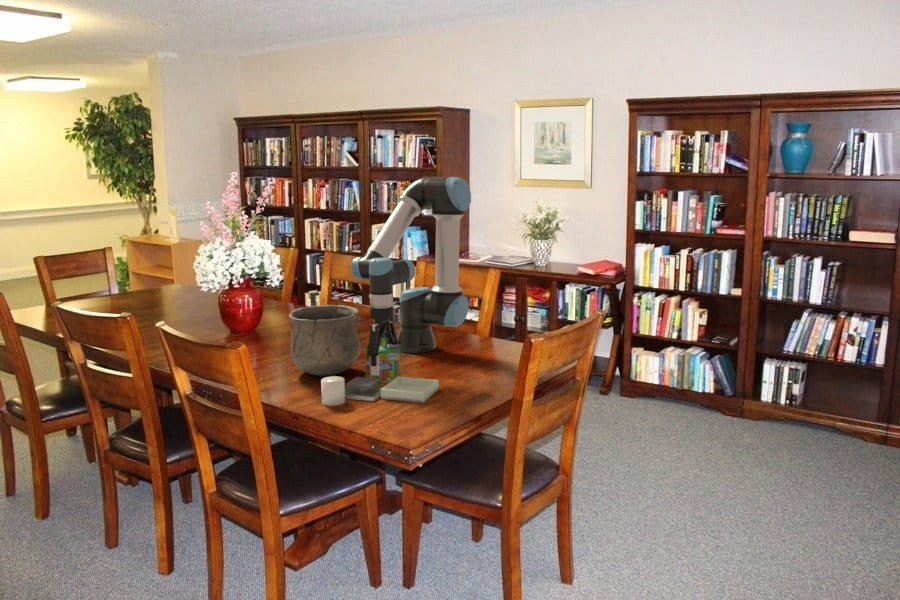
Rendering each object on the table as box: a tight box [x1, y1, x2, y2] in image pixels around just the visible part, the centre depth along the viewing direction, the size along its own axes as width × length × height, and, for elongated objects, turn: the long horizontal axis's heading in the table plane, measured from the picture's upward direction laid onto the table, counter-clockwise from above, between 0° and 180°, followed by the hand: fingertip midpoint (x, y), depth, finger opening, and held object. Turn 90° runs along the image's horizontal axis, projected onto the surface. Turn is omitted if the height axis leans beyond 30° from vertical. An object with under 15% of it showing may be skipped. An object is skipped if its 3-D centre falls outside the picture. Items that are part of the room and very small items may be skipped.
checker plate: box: [345, 376, 380, 390], centre depth 241 cm, size 8×8×1 cm
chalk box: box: [364, 336, 402, 385], centre depth 253 cm, size 9×9×15 cm
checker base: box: [345, 384, 387, 402], centre depth 242 cm, size 13×13×2 cm
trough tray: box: [380, 376, 440, 404], centre depth 241 cm, size 14×14×3 cm
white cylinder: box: [320, 375, 346, 407], centre depth 233 cm, size 7×7×7 cm
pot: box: [288, 304, 361, 377], centre depth 261 cm, size 25×24×21 cm
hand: (383, 369), depth 254 cm, fingers open, 12 cm apart
